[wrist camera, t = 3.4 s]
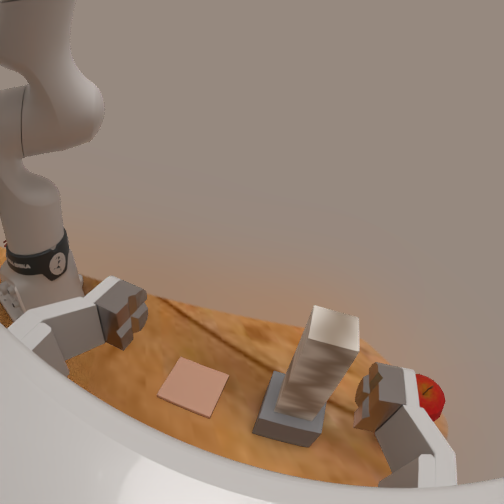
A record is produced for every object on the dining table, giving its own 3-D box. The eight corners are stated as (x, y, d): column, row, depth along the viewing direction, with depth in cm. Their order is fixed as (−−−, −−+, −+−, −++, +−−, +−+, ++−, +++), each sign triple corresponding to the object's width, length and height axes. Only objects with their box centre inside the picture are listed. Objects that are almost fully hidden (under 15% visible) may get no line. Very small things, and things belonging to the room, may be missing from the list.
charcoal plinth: (252, 433, 33) (258, 417, 31) (266, 389, 40) (273, 370, 38) (308, 447, 32) (321, 433, 30) (316, 403, 39) (328, 385, 36)
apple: (418, 421, 36) (460, 379, 30) (400, 458, 30) (449, 420, 24) (380, 398, 40) (416, 352, 34) (358, 432, 34) (399, 389, 29)
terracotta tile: (156, 396, 36) (156, 394, 35) (180, 358, 42) (180, 356, 42) (209, 418, 34) (209, 416, 34) (228, 377, 41) (229, 375, 41)
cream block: (273, 411, 32) (308, 338, 25) (282, 381, 36) (314, 305, 29) (311, 421, 31) (359, 351, 24) (317, 391, 35) (358, 317, 28)
